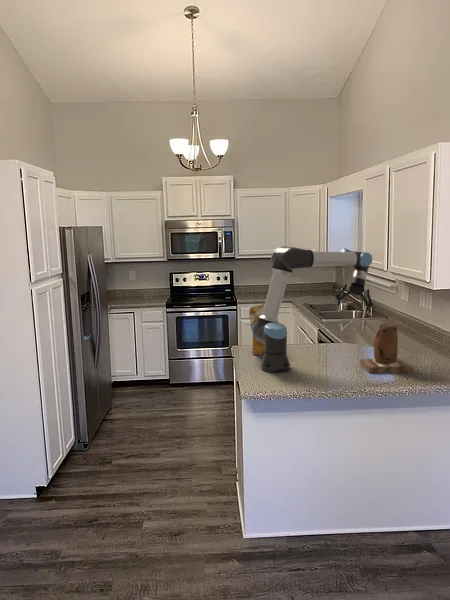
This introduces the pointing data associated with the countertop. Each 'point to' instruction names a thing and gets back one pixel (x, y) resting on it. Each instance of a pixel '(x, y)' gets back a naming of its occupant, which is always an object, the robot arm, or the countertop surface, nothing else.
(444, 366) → the countertop surface
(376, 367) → the plinth
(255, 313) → the pancake mix bag
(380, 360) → the catalogued terracotta fragment
